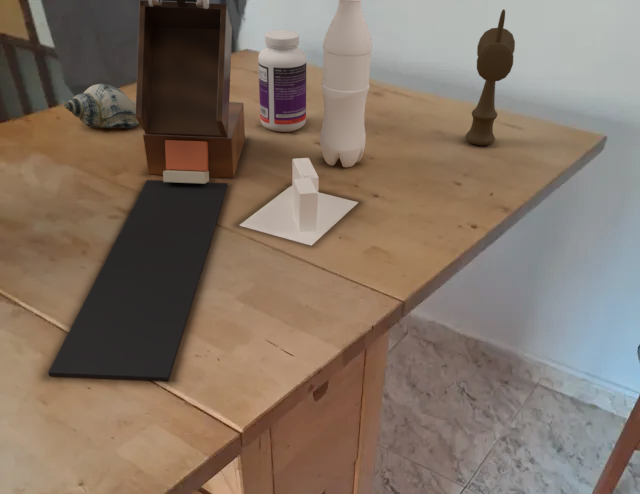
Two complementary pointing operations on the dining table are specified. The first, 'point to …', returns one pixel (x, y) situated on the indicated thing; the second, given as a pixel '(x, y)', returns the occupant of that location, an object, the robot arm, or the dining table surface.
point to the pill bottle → (282, 82)
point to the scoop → (183, 69)
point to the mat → (144, 286)
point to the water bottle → (345, 84)
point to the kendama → (490, 79)
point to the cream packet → (186, 176)
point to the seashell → (104, 107)
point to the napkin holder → (300, 208)
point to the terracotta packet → (186, 155)
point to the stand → (219, 149)
